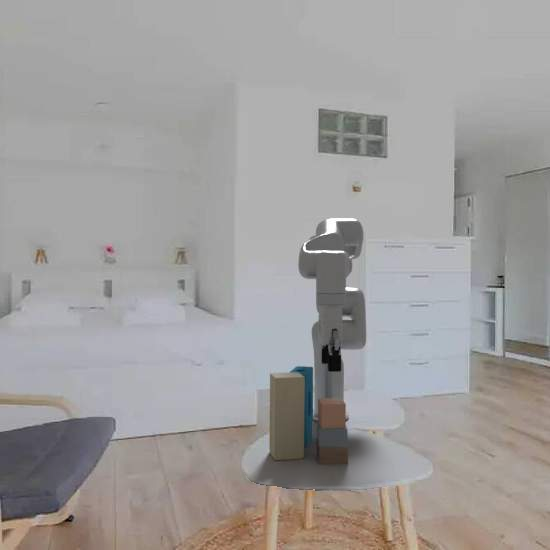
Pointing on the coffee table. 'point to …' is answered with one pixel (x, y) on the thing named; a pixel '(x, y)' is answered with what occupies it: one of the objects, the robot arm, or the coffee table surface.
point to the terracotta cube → (331, 413)
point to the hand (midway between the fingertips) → (331, 367)
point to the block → (307, 401)
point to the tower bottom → (332, 455)
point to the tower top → (332, 437)
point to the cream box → (287, 415)
